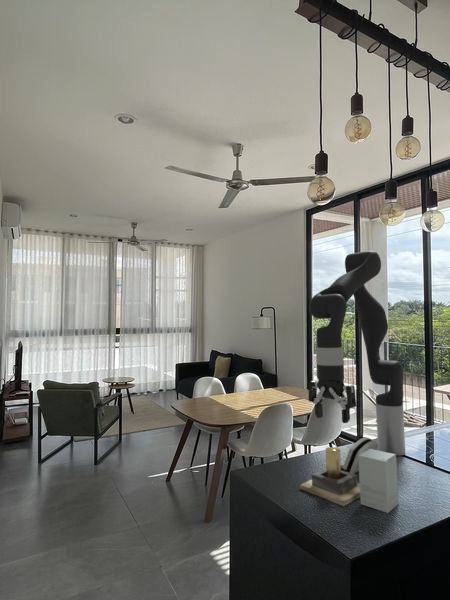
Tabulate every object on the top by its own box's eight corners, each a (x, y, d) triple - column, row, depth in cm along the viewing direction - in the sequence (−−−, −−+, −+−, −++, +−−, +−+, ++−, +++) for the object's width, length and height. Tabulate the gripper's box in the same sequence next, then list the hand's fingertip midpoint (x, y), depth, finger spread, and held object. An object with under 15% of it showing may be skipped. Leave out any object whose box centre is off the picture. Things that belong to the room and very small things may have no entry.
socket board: (326, 476, 115) (326, 462, 115) (369, 491, 104) (368, 475, 104) (300, 489, 106) (299, 473, 107) (343, 506, 96) (343, 489, 96)
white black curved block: (359, 456, 132) (367, 431, 130) (372, 464, 129) (381, 438, 127) (338, 470, 120) (346, 442, 118) (351, 479, 116) (360, 450, 115)
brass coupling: (331, 481, 108) (330, 446, 109) (344, 485, 105) (343, 449, 106) (323, 485, 106) (322, 449, 106) (336, 490, 102) (335, 453, 103)
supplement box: (399, 503, 97) (397, 454, 98) (387, 514, 91) (385, 461, 92) (371, 495, 102) (369, 447, 103) (359, 504, 97) (357, 454, 98)
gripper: (359, 363, 105) (361, 422, 104) (317, 360, 116) (318, 413, 114) (344, 365, 100) (347, 427, 99) (302, 362, 111) (303, 417, 110)
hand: (332, 419), depth 107 cm, fingers open, 8 cm apart
